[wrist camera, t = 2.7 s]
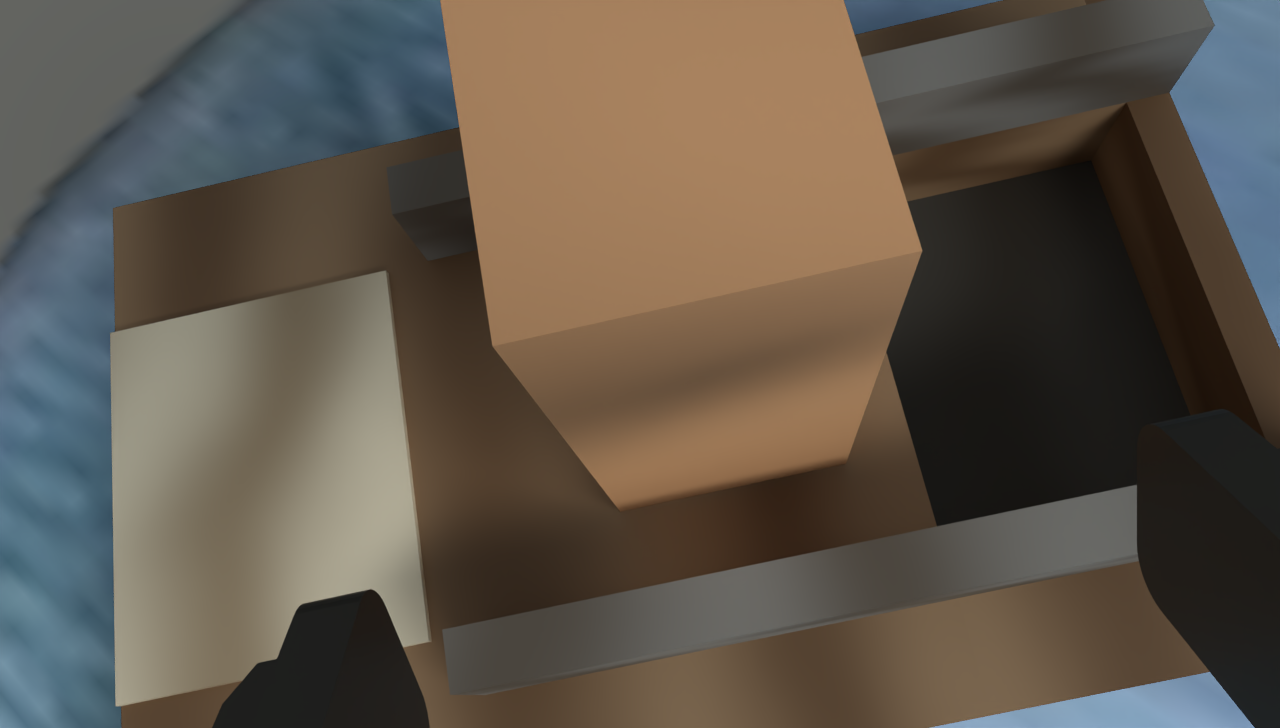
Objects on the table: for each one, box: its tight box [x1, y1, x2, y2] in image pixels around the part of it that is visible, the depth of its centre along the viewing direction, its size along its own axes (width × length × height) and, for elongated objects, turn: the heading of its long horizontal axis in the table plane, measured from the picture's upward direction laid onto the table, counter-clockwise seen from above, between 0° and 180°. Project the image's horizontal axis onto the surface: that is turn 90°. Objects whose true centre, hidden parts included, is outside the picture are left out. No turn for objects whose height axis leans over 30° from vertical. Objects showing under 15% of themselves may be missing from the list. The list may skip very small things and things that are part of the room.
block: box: [440, 0, 922, 512], centre depth 17 cm, size 5×5×11 cm
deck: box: [110, 0, 1280, 728], centre depth 23 cm, size 26×16×6 cm, turn 101°
